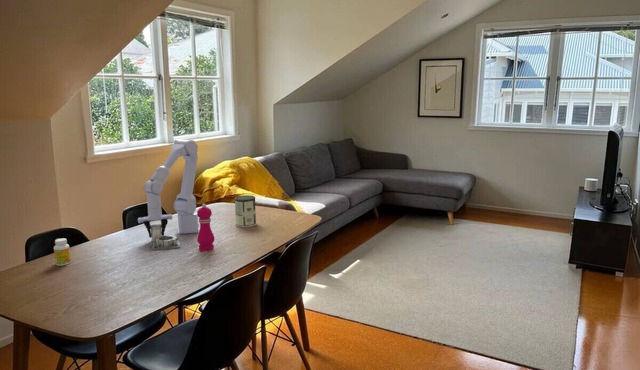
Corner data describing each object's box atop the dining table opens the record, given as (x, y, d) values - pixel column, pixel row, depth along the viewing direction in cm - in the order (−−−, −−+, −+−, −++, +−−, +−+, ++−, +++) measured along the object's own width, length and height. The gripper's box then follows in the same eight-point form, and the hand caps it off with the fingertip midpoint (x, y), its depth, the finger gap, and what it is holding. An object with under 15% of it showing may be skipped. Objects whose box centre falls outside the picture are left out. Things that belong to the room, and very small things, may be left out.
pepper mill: (218, 247, 208) (216, 202, 204) (207, 252, 202) (205, 206, 198) (204, 245, 211) (202, 201, 207) (194, 250, 205) (191, 204, 201)
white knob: (162, 238, 222) (161, 223, 221) (162, 241, 217) (161, 226, 216) (151, 239, 221) (150, 224, 219) (150, 242, 216) (149, 227, 215)
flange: (179, 240, 219) (179, 233, 218) (179, 247, 208) (179, 240, 208) (154, 242, 216) (153, 235, 215) (152, 250, 206) (152, 243, 205)
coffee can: (244, 220, 251) (243, 194, 248) (260, 223, 246) (259, 196, 243) (231, 225, 243) (230, 198, 240) (246, 228, 237) (245, 200, 235)
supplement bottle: (55, 266, 187) (52, 242, 185) (55, 262, 191) (52, 238, 190) (71, 264, 189) (68, 240, 187) (70, 260, 194) (68, 237, 192)
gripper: (169, 203, 223) (171, 231, 225) (136, 206, 216) (138, 236, 219) (172, 206, 216) (174, 235, 219) (138, 210, 210) (140, 240, 213)
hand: (156, 236), depth 219 cm, fingers closed on white knob, 5 cm apart
